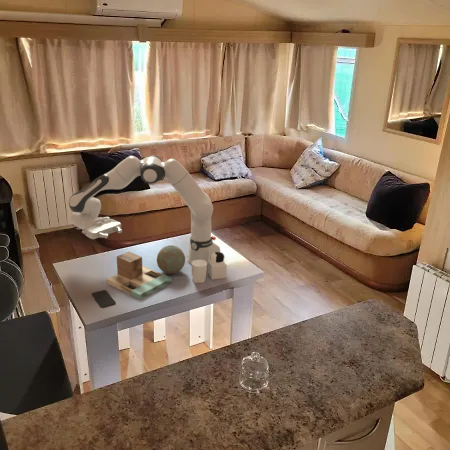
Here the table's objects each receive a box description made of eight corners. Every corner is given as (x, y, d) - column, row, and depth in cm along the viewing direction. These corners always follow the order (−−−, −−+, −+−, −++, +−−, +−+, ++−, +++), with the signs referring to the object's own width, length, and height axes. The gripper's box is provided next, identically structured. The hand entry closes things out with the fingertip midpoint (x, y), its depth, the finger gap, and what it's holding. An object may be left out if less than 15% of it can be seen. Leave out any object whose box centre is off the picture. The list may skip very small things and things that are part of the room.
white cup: (203, 285, 238) (203, 267, 234) (189, 282, 240) (189, 264, 236) (208, 278, 245) (209, 261, 241) (195, 275, 247) (195, 258, 243)
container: (221, 271, 252) (222, 249, 247) (226, 278, 246) (227, 256, 241) (207, 273, 250) (208, 251, 245) (212, 280, 243) (212, 257, 238)
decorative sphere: (171, 281, 240) (171, 255, 234) (151, 272, 248) (150, 247, 242) (190, 271, 251) (191, 246, 245) (170, 263, 259) (170, 238, 254)
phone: (105, 289, 229) (116, 303, 218) (105, 290, 229) (116, 304, 218) (90, 293, 225) (101, 307, 214) (90, 294, 226) (101, 308, 214)
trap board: (139, 268, 252) (139, 264, 251) (171, 282, 239) (171, 278, 238) (107, 283, 236) (106, 278, 235) (140, 299, 223) (140, 294, 222)
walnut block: (129, 268, 246) (128, 251, 242) (142, 274, 241) (142, 257, 237) (117, 274, 240) (116, 256, 236) (130, 280, 235) (130, 262, 231)
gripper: (79, 225, 235) (99, 234, 228) (110, 215, 251) (128, 223, 244) (79, 236, 237) (98, 245, 230) (109, 226, 253) (128, 234, 247)
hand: (114, 234), depth 237 cm, fingers open, 8 cm apart
